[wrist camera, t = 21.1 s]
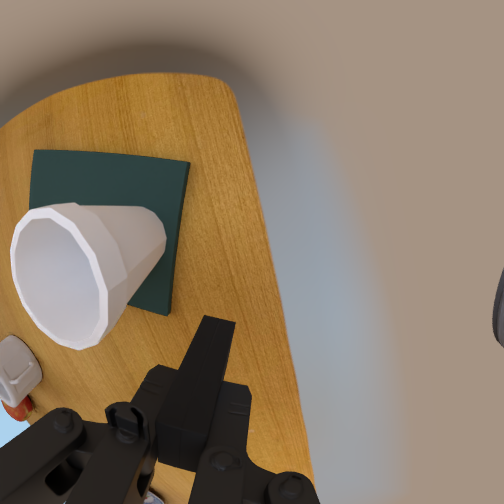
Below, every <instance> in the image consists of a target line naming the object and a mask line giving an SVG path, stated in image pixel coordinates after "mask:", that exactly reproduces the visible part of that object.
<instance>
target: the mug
mask: <svg viewBox="0 0 504 504" xmlns="http://www.w3.org/2000/svg"><path fill="white" fill-rule="evenodd" d="M41 380H42V371H41V368H40V366H39V363H38V361H37V359H36V358H35V356H34V355H33V353H32V352H31V350H30V349H29V348H28V347H27V345H26V344H25V343H24V342H23V341H22V340H20V339H19V338H18V337H16V336H13V335H10V336H8V337H6V338H5V339H4V340H3V341H2V342H0V399H1V400H2V401H4V402H5V403H6V404H7V405H9V406H10V407H13V408H14V407H17V406H18V405H19V404H20V402H21V401H22V400H23V399H24V398H25V397H26V396H27V394H28V393H29V392H30V391H31V390H32V389H33V388H34V387H35V386H36V385H37V384H38V383H39V382H40V381H41Z"/></svg>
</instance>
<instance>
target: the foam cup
mask: <svg viewBox="0 0 504 504" xmlns="http://www.w3.org/2000/svg"><path fill="white" fill-rule="evenodd" d="M166 239H167V237H166V234H165V230H164V226H163V223H162V222H161V221H160V219H159V218H158V217H157V216H156V214H155V213H154V212H152V211H150V210H148V209H146V208H144V207H140V206H80V205H78V204H76V203H75V202H74V203H64V204H54V205H49V206H44V207H40V208H35V209H31V210H29V211H28V212H27V214H26V215H25V216H24V217H23V218H22V219H21V220H20V221H19V223H18V224H17V225H16V228H15V231H14V235H13V239H12V244H11V248H10V255H11V268H12V277H13V280H14V283H15V286H16V289H17V292H18V294H19V297H20V300H21V302H22V305H23V306H24V308H25V309H26V311H27V312H28V314H29V315H30V317H31V318H32V320H33V321H34V323H35V324H36V325H37V327H38V328H39V329H40V330H41V331H43V332H44V333H45V334H46V335H47V336H49V337H50V338H51V339H52V340H54V341H55V342H56V343H57V344H60V345H63V346H66V347H69V348H73V349H76V350H82V349H85V348H88V347H91V346H94V345H97V344H98V343H99V342H100V341H101V340H102V339H103V338H104V337H105V336H106V335H107V334H108V333H109V332H110V331H111V330H112V329H113V328H114V327H115V325H116V323H117V321H118V320H119V318H120V316H121V315H122V313H123V312H124V310H125V308H126V304H127V303H128V302H129V300H130V299H131V297H132V296H133V295H134V293H135V292H136V290H137V289H138V288H139V286H140V285H141V284H142V282H143V281H144V280H145V278H146V277H147V276H148V274H149V273H150V272H151V270H152V269H153V268H154V266H155V265H156V264H157V262H158V261H159V259H160V258H161V256H162V255H163V253H164V252H165V246H166Z"/></svg>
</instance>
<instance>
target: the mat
mask: <svg viewBox="0 0 504 504" xmlns="http://www.w3.org/2000/svg"><path fill="white" fill-rule="evenodd" d="M189 168H190V162H184V161H177V160H170V159H162V158H154V157H146V156H136V155H126V154H115V153H103V152H88V151H68V150H34V154H33V162H32V171H31V182H30V198H29V210H31V209H35V208H40V207H44V206H49V205H54V204H64V203H74V202H75V203H76V204H78V205H80V206H140V207H144V208H146V209H148V210H150V211H152V212H154V213H155V214H156V216H157V217H158V218H159V219H160V221H161V222H162V223H163V226H164V230H165V234H166V237H167V239H166V246H165V252H164V253H163V255H162V256H161V258H160V259H159V261H158V262H157V264H156V265H155V266H154V268H153V269H152V270H151V272H150V273H149V274H148V276H147V277H146V278H145V280H144V281H143V282H142V284H141V285H140V286H139V288H138V289H137V290H136V292H135V293H134V295H133V296H132V297H131V299H130V300H129V302H128V303H127V304H128V305H131V306H134V307H137V308H140V309H144V310H147V311H150V312H154V313H157V314H161V315H164V316H168V315H169V314H170V311H171V299H172V288H173V278H174V269H175V260H176V252H177V244H178V237H179V229H180V222H181V216H182V209H183V203H184V197H185V191H186V185H187V179H188V174H189Z"/></svg>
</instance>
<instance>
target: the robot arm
mask: <svg viewBox="0 0 504 504" xmlns="http://www.w3.org/2000/svg"><path fill="white" fill-rule="evenodd" d="M235 324H236V322H232V321H228V320H223V319H219V318H215V317H211V316H207V315H204V317H203V319H202V321H201V323H200V325H199V327H198V329H197V331H196V333H195V336H194V338H193V340H192V342H191V344H190V346H189V348H188V350H187V352H186V355H185V357H184V359H183V361H182V363H181V365H180V367H179V369H178V370H176V369H173V368H169V367H166V366H163V365H160V364H158V365H157V366H155V367H154V368H152V369H151V370H149V372H148V373H147V375H146V377H145V378H144V381H143V382H142V383H141V385H140V388H138V390H137V392H136V394H135V395H134V397H133V399H132V400H131V402H130V403H129V402H116V403H113V404H111V405H109V406H108V407H107V408H106V409H105V414H106V418H107V421H108V423H96V422H90V421H85V420H82V418H81V417H80V416H79V414H78V413H77V412H75V411H73V410H72V409H69V408H64V407H63V408H56V409H54V410H52V411H50V412H49V413H47V414H46V415H45V416H43V417H42V418H41V419H39V420H38V421H37V422H35V423H34V424H33V425H31V426H30V427H28V428H27V429H26V430H24V431H23V432H22V433H20V434H19V435H18V436H16V437H15V438H13V439H12V440H11V441H10V442H8V443H7V444H5V445H4V446H3V447H1V448H0V504H64V503H65V504H144V501H145V498H146V495H147V493H148V490H149V487H150V484H151V482H152V479H153V476H154V470H155V469H154V466H155V463H156V461H157V458H158V462H160V463H163V464H166V465H170V466H173V467H177V468H180V469H184V470H188V471H192V472H196V475H195V479H194V483H193V487H192V491H191V494H190V498H189V502H188V504H320V502H319V499H318V497H317V494H316V492H315V489H314V486H313V484H312V483H311V481H310V480H309V479H308V478H307V477H306V476H304V475H303V474H300V473H297V472H288V471H286V472H282V473H279V474H275V473H272V472H270V471H267V470H265V469H262V468H260V467H258V466H257V465H255V464H254V463H253V462H252V461H251V460H250V458H249V457H248V454H247V452H246V445H247V436H248V427H249V418H250V417H249V416H250V409H251V408H250V407H251V400H252V395H251V393H250V390H249V388H248V386H246V385H241V384H236V383H231V382H227V381H223V379H224V375H225V371H226V367H227V362H228V357H229V353H230V348H231V343H232V338H233V333H234V329H235Z"/></svg>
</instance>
